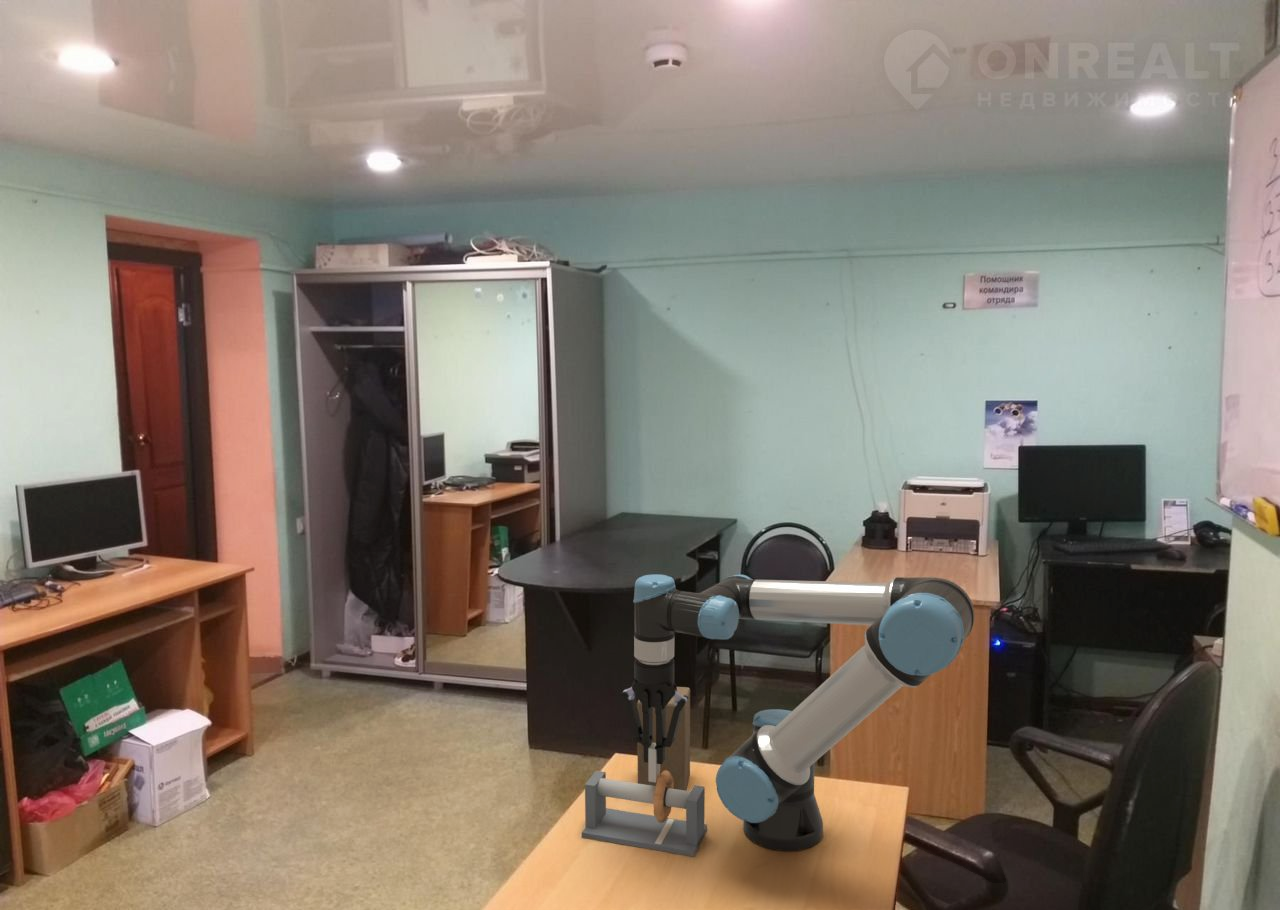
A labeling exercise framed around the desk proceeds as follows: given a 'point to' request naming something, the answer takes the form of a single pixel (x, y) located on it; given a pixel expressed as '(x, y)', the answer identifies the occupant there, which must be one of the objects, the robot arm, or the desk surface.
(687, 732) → the wooden block
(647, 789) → the pipe stand
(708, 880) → the desk surface
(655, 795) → the o-ring
